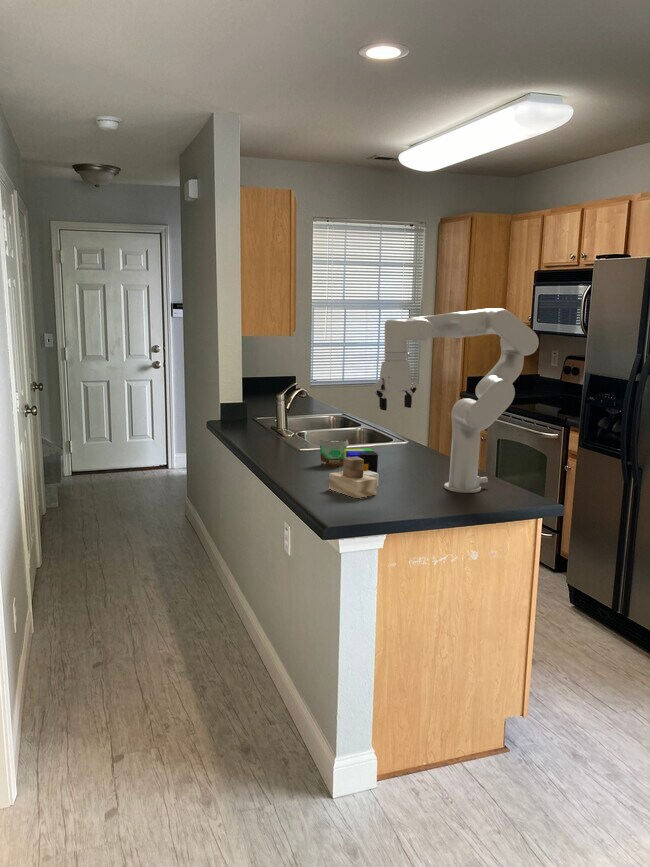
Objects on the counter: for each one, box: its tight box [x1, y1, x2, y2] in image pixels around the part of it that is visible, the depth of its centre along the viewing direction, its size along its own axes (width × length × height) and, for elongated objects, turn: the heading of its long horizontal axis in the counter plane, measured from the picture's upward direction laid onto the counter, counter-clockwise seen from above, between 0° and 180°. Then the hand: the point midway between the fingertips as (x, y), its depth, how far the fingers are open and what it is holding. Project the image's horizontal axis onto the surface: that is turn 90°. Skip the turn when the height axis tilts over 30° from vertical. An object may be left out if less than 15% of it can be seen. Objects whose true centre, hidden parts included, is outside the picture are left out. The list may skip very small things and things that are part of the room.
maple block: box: [328, 470, 378, 499], centre depth 239 cm, size 9×14×6 cm, turn 39°
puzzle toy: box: [344, 448, 379, 473], centre depth 258 cm, size 10×10×10 cm
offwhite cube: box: [363, 471, 380, 487], centre depth 248 cm, size 5×5×5 cm
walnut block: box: [342, 457, 364, 478], centre depth 238 cm, size 5×5×6 cm
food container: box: [318, 438, 349, 468], centre depth 277 cm, size 12×6×10 cm, turn 112°
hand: (395, 408), depth 239 cm, fingers open, 9 cm apart
